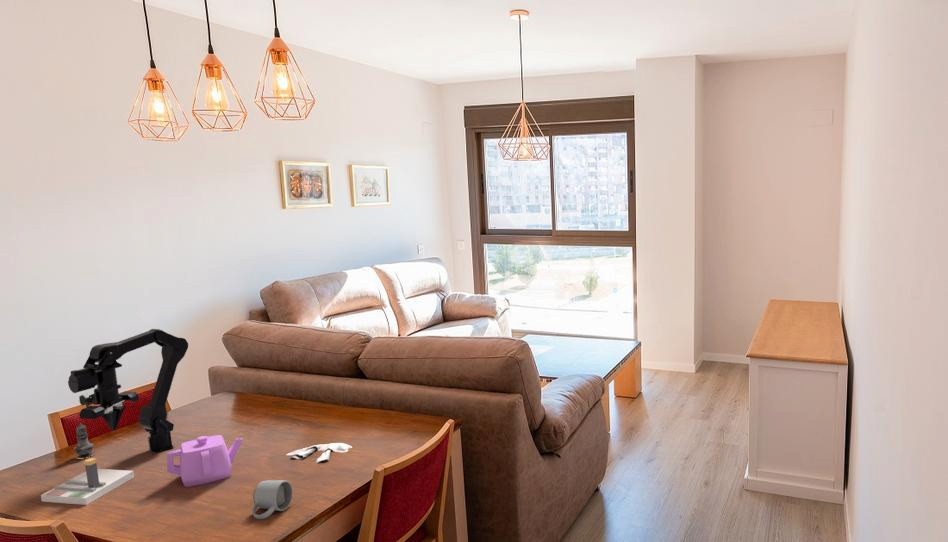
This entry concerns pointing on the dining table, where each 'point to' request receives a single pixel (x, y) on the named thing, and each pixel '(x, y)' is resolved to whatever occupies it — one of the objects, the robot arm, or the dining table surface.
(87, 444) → the grey statuette
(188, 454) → the teakettle
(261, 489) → the ceramic mug
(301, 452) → the cloth
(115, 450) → the dining table surface
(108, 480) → the switch board
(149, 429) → the robot arm
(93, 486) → the knob
